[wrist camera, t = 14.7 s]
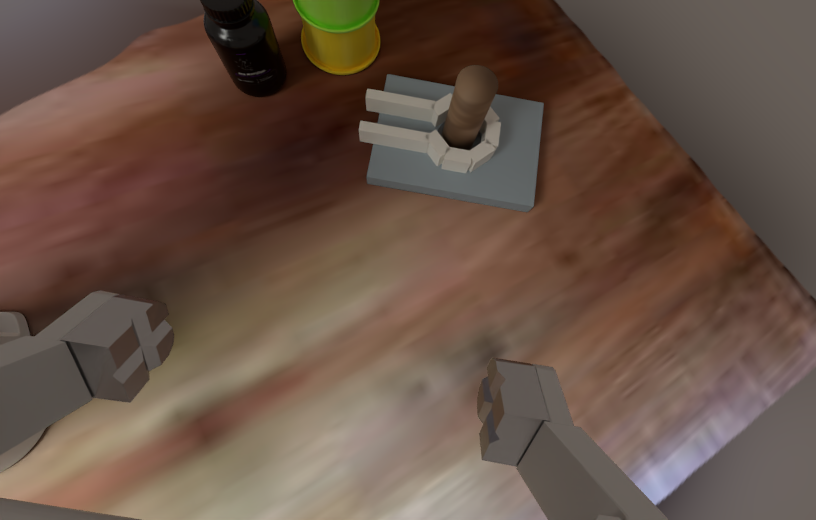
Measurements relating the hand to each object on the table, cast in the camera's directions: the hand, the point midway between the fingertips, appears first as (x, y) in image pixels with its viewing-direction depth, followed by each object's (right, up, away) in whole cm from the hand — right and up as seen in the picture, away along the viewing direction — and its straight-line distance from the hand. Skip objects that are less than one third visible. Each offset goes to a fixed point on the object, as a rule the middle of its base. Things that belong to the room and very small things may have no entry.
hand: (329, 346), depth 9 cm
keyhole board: (+8, +17, +38) cm, 42 cm away
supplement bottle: (-17, +26, +39) cm, 50 cm away
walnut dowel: (+8, +17, +36) cm, 41 cm away
